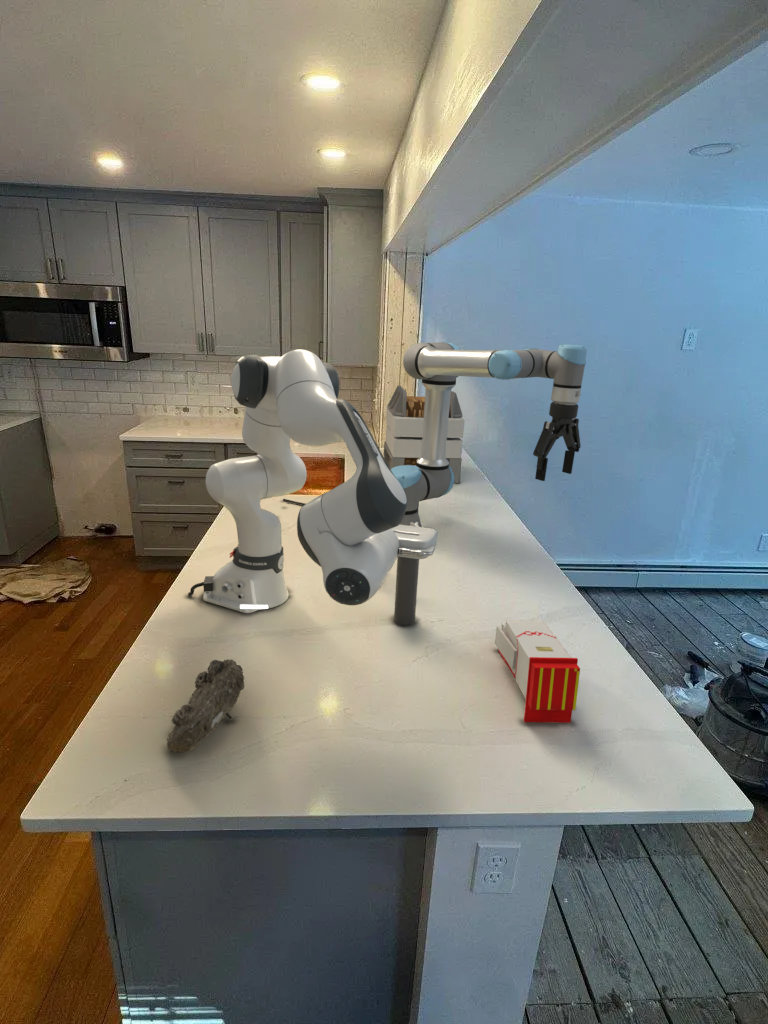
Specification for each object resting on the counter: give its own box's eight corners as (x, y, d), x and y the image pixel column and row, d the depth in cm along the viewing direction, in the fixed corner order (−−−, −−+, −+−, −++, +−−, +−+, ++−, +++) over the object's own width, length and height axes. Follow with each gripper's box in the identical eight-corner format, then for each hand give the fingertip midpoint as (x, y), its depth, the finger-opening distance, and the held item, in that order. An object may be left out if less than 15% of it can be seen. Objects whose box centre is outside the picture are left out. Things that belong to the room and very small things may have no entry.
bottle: (418, 623, 143) (424, 532, 135) (398, 627, 141) (404, 534, 133) (409, 613, 148) (415, 524, 139) (390, 616, 146) (395, 526, 138)
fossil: (192, 660, 117) (244, 628, 112) (224, 691, 120) (276, 661, 115) (142, 746, 98) (202, 712, 93) (182, 779, 101) (242, 748, 96)
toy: (541, 605, 135) (589, 664, 106) (536, 657, 138) (581, 729, 108) (490, 604, 135) (524, 663, 105) (486, 656, 137) (518, 728, 108)
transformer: (382, 463, 289) (386, 382, 275) (445, 464, 293) (451, 384, 279) (390, 482, 257) (394, 392, 243) (460, 483, 261) (468, 394, 247)
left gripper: (432, 539, 97) (444, 513, 110) (320, 525, 101) (343, 501, 114) (430, 573, 99) (441, 543, 112) (320, 557, 104) (343, 530, 116)
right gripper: (550, 408, 147) (539, 486, 154) (600, 401, 162) (588, 472, 170) (526, 403, 152) (516, 479, 159) (577, 397, 168) (566, 467, 175)
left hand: (391, 522), depth 113 cm, fingers open, 8 cm apart
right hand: (553, 476), depth 165 cm, fingers open, 13 cm apart
